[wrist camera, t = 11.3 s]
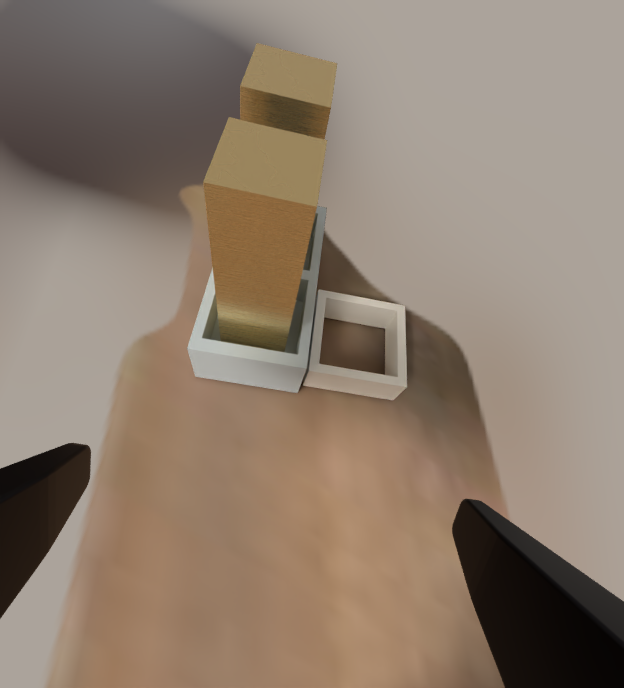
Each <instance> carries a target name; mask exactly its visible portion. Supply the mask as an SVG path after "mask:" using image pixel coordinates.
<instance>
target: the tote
mask: <svg viewBox="0 0 624 688" xmlns="http://www.w3.org/2000/svg"><path fill="white" fill-rule="evenodd" d="M324 317H325V318H330V319H335V320H341V321H346V322H352V323H357V324H363V325H368V326H373V327H379V328H384V329H385V375H382V374H376V373H370V372H365V371H359V370H353V369H347V368H341V367H335V366H329V365H324V364H319V361H320V351H321V342H322V333H323V323H324ZM303 386H309V387H315V388H321V389H327V390H333V391H339V392H345V393H351V394H357V395H363V396H369V397H376V398H382V399H388V400H394V399H395V398H396V397H397V396H398V395H399V394H400V393H402V392H403V391H404V390H405V389H406V388H407V363H406V324H405V306H404V305H399V304H393V303H388V302H383V301H378V300H373V299H367V298H362V297H357V296H352V295H346V294H341V293H336V292H331V291H325V290H320V289H319V290H318V293H317V296H316V300H315V306H314V314H313V322H312V330H311V338H310V346H309V354H308V362H307V369H306V372H305V375H304V381H303Z"/></svg>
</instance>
